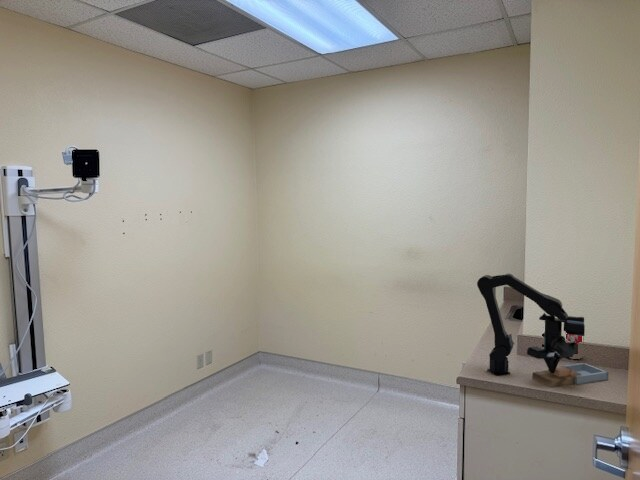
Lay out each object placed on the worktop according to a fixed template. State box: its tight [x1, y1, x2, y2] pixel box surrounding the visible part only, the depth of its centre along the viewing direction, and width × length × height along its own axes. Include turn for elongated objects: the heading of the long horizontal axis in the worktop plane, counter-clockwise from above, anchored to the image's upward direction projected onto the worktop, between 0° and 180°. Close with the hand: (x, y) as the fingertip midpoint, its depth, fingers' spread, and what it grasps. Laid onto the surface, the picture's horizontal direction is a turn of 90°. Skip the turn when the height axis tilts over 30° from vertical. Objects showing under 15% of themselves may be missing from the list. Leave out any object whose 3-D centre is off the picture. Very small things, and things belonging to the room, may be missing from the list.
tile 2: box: [561, 365, 581, 377], centre depth 169 cm, size 5×5×2 cm
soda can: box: [565, 333, 582, 343], centre depth 192 cm, size 7×7×12 cm
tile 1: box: [548, 364, 570, 377], centre depth 168 cm, size 5×5×2 cm
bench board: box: [532, 370, 576, 388], centre depth 167 cm, size 11×9×2 cm
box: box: [563, 362, 609, 386], centre depth 171 cm, size 15×11×3 cm
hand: (552, 372), depth 167 cm, fingers closed
